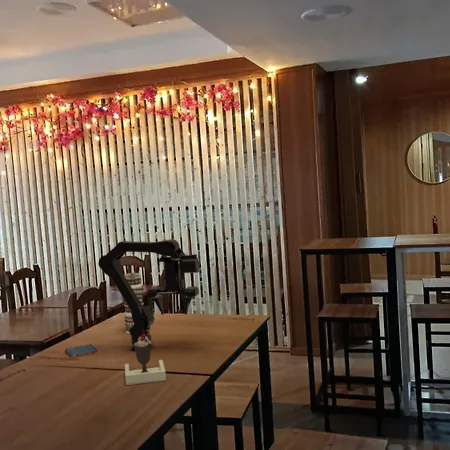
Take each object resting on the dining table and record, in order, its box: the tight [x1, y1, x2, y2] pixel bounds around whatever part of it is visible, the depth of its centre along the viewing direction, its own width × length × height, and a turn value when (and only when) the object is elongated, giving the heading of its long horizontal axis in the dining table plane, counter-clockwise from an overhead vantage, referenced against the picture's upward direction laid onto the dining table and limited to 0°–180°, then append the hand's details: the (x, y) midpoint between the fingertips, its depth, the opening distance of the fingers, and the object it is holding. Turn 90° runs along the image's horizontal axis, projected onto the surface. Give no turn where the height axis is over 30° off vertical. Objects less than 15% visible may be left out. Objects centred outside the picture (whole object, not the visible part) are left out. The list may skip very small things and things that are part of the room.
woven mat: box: [64, 343, 99, 359], centre depth 216 cm, size 10×11×2 cm
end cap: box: [124, 359, 167, 386], centre depth 184 cm, size 12×12×3 cm
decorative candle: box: [122, 272, 145, 335], centre depth 243 cm, size 9×9×25 cm
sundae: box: [131, 330, 154, 373], centre depth 184 cm, size 7×7×15 cm
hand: (174, 314), depth 213 cm, fingers open, 9 cm apart
